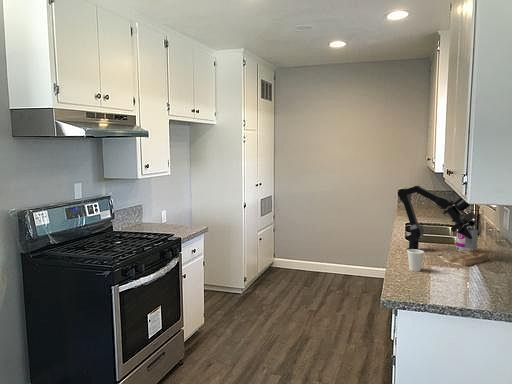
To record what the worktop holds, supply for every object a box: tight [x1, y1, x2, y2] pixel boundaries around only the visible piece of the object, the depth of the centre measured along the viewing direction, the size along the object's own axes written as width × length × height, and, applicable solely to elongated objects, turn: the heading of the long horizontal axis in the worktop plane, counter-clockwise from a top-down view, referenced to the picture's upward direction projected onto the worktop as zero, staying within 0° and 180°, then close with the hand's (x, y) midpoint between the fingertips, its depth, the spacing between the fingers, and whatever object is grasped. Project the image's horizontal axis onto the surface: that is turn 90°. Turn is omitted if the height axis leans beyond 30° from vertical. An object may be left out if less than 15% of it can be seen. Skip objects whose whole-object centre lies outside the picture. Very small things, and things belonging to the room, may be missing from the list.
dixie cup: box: [406, 249, 425, 272], centre depth 223 cm, size 8×8×10 cm
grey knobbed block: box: [465, 226, 479, 250], centre depth 242 cm, size 4×4×12 cm
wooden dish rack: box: [440, 251, 489, 267], centre depth 240 cm, size 14×24×5 cm, turn 125°
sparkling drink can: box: [455, 229, 472, 253], centre depth 264 cm, size 8×8×15 cm
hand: (473, 238), depth 241 cm, fingers closed on grey knobbed block, 4 cm apart
